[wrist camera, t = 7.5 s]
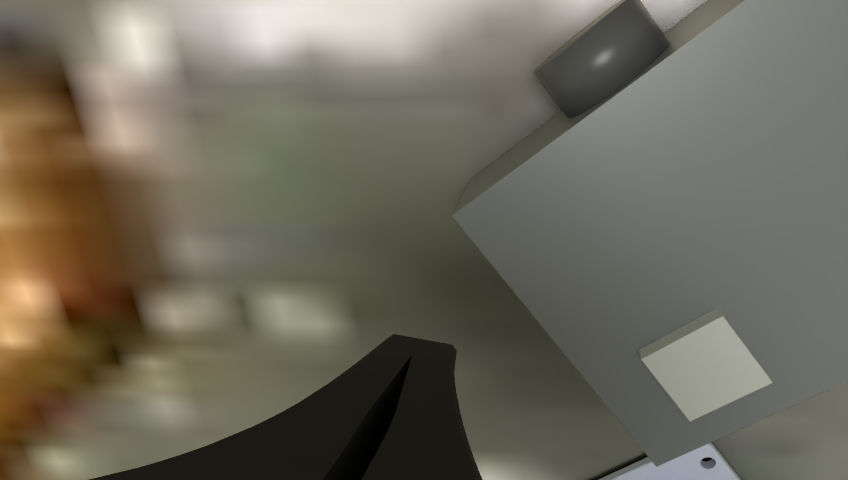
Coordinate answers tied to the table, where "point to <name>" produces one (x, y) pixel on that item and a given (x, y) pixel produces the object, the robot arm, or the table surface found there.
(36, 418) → the table surface
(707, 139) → the box
